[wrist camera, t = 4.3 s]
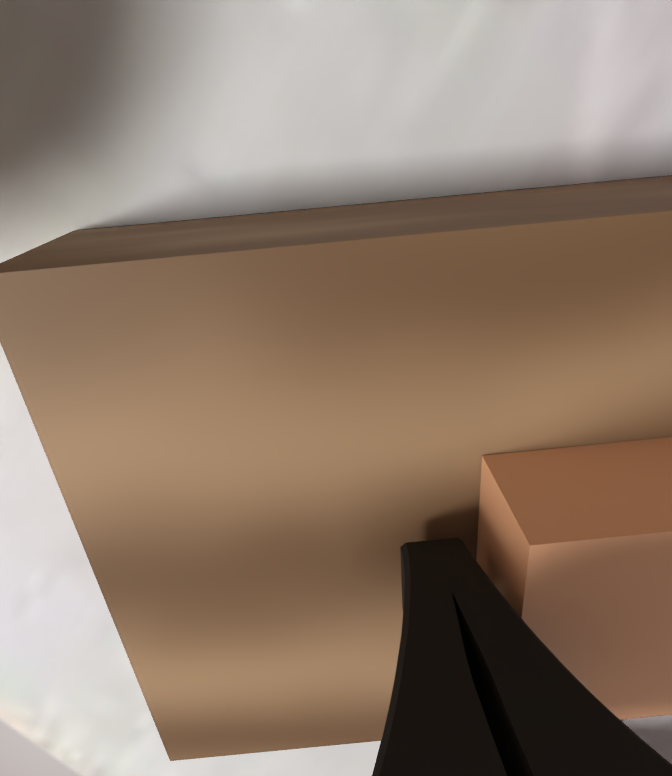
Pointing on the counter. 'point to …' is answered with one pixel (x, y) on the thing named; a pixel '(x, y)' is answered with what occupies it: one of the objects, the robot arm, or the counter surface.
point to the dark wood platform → (321, 421)
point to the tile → (588, 561)
